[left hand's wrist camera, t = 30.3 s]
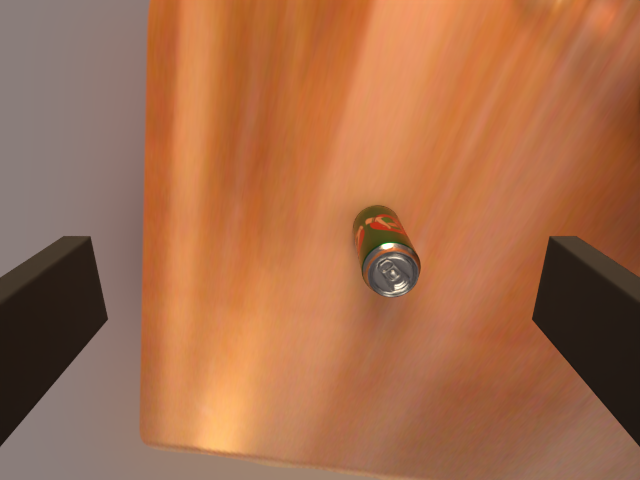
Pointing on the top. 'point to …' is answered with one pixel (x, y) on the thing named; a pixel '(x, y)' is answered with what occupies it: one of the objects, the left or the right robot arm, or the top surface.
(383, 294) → the soda can
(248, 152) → the top surface
